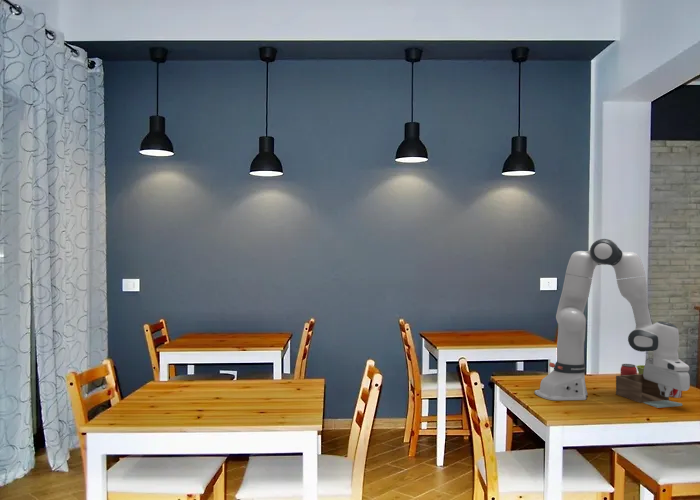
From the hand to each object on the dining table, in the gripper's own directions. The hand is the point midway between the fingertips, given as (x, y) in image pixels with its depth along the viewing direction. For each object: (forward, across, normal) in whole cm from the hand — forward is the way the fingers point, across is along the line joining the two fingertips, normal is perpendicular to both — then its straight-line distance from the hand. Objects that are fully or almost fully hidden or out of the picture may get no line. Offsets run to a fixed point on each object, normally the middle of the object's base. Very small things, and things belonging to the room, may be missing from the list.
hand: (664, 396), depth 218 cm
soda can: (+4, -10, +14) cm, 18 cm away
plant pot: (+5, -31, +20) cm, 38 cm away
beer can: (+5, -24, +4) cm, 25 cm away
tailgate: (+3, -4, -1) cm, 6 cm away
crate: (+5, -11, -1) cm, 12 cm away
